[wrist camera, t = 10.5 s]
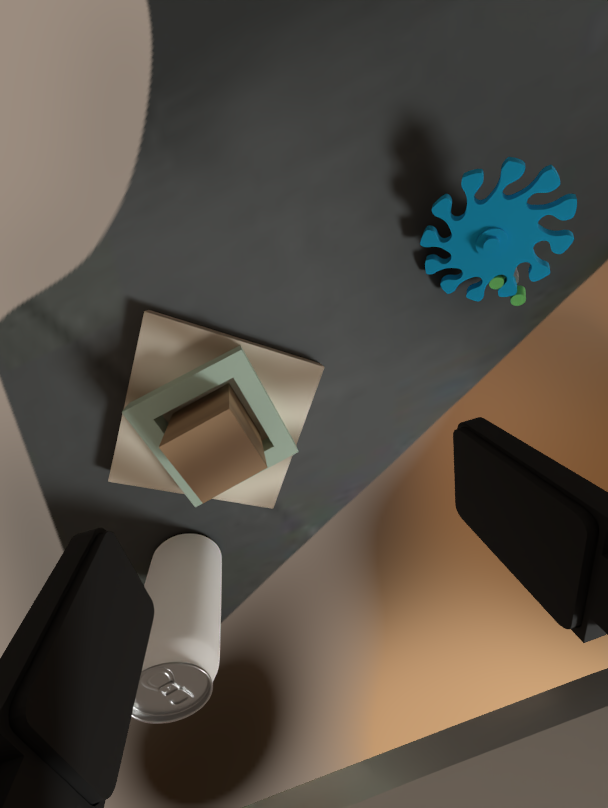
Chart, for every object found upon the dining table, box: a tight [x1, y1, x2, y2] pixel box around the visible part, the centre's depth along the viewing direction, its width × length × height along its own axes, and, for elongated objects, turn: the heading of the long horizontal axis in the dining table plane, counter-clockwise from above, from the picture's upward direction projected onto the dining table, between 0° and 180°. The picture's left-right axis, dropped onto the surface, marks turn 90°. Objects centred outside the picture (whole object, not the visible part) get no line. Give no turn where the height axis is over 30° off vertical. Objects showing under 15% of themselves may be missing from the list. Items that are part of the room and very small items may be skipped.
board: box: [108, 310, 324, 509], centre depth 28 cm, size 14×14×2 cm
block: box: [159, 383, 267, 503], centre depth 25 cm, size 5×5×6 cm
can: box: [131, 533, 222, 724], centre depth 28 cm, size 6×6×12 cm
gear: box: [420, 157, 577, 306], centre depth 27 cm, size 11×6×10 cm
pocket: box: [122, 345, 298, 507], centre depth 27 cm, size 10×10×2 cm
